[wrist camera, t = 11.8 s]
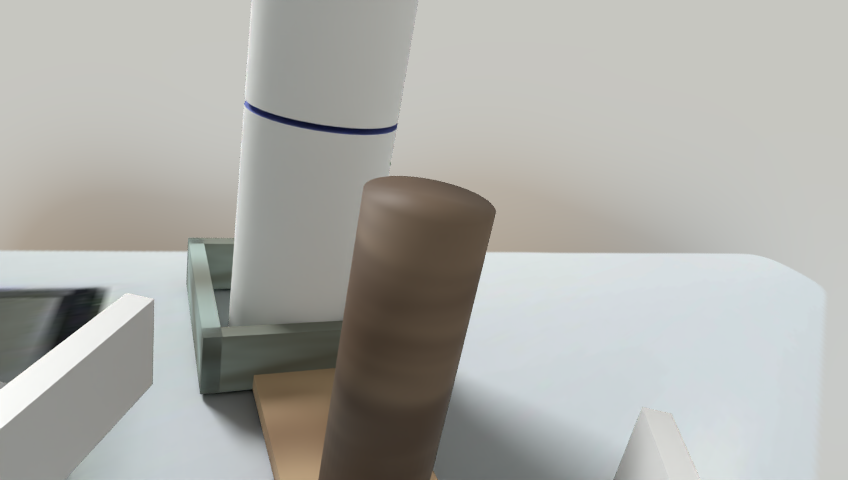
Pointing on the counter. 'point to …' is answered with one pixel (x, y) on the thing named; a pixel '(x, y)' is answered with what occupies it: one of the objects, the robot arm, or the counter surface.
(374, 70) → the cylindrical container
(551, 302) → the counter surface
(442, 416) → the holder stand
